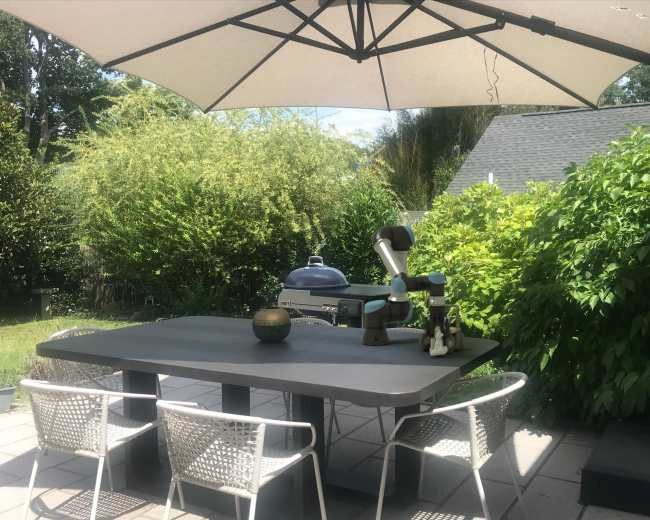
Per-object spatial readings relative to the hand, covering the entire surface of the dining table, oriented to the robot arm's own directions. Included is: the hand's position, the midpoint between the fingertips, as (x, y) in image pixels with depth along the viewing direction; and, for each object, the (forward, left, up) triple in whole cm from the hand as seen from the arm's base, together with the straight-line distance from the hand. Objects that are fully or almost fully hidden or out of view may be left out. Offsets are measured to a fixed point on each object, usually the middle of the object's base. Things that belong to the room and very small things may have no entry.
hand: (438, 351), depth 310 cm
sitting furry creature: (0, 0, -1) cm, 1 cm away
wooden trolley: (-7, +15, -2) cm, 17 cm away
